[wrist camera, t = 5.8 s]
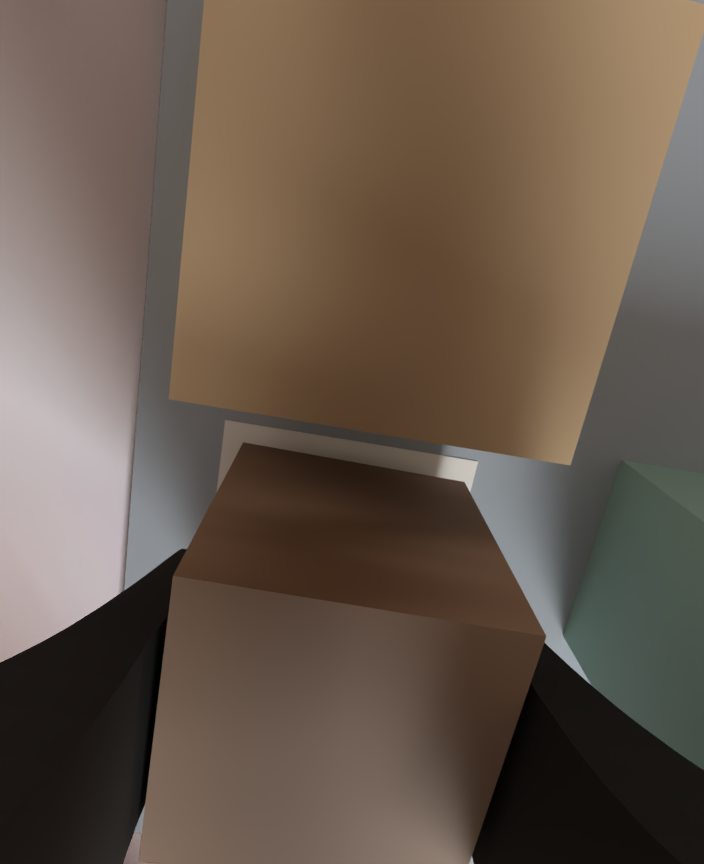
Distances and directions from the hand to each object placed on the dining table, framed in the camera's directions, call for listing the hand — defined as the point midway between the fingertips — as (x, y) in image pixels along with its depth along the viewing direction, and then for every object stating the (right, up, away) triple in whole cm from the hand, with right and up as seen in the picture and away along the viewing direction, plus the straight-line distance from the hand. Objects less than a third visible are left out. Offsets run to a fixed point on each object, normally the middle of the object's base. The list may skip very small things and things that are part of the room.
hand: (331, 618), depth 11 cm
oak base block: (+1, +7, 0) cm, 7 cm away
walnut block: (0, +1, +1) cm, 2 cm away
